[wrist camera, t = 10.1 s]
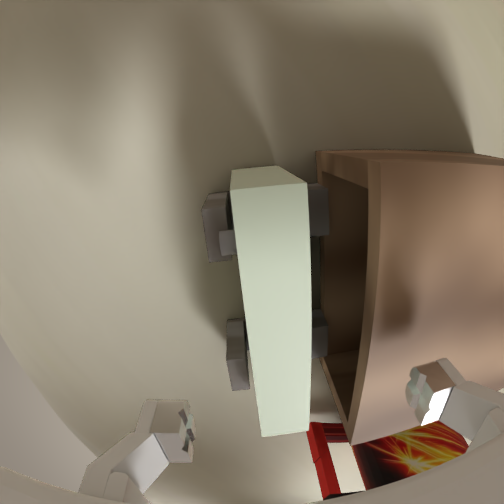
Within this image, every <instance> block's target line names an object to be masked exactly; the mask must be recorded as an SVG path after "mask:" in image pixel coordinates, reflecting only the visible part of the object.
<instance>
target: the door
mask: <svg viewBox="0 0 504 504" xmlns="http://www.w3.org/2000/svg"><path fill="white" fill-rule="evenodd" d="M230 196H231V205H232V213H233V222H234V230H226V231H219V242H220V250H221V255H222V256H225V255H234V254H237V255H238V263H239V271H240V279H241V287H242V295H243V303H244V311H245V319H246V326H247V334H248V341H249V349H250V356H251V364H252V371H253V379H254V386H255V393H256V400H257V407H258V414H259V421H260V428H261V435H262V437H267V436H276V435H283V434H291V433H297V432H304V431H309V417H310V392H311V341H312V308H311V256H310V229H309V208H308V190H307V182H305V181H303V180H302V179H300V178H298V177H296V176H295V175H293V174H291V173H290V172H288V171H286V170H284V169H283V168H281V167H279V166H265V167H255V168H245V169H236V170H232V173H231V183H230Z"/></svg>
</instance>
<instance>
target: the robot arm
mask: <svg viewBox="0 0 504 504" xmlns="http://www.w3.org/2000/svg"><path fill="white" fill-rule="evenodd" d="M409 376H410V378H411V380H410V381H409V382H408V383H407V385H406V389H405V394H406V400H407V402H408V404H409V406H410V407H412V408H414V409H415V413H414V415H415V416H416V418H417V420H418V422H419V423H420V425H421V426H422V425H425V424H428V423H431V422H434V421H437V420H439V421H440V422H442V423H444V424H445V425H447V426H448V427H450V428H452V429H453V430H455V431H456V432H458V433H460V434H461V435H463V436H464V437H466V438H468V439H469V440H471V441H472V442H471V444H470V445H469V447H468V448H467V450H466V453H465V454H463V455H461V456H458V457H456V458H454V459H452V460H450V461H448V462H445V463H443V464H441V465H439V466H436V467H434V468H431V469H429V470H426V471H424V472H421V473H419V474H416V475H413V476H411V477H408V478H405V479H402V480H399V481H396V482H393V483H390V484H387V485H384V486H380V487H377V488H373V489H370V490H366V491H363V492H359V493H355V494H351V495H346V496H342V497H337V498H333V499H328V500H323V501H317V502H311V503H305V504H504V394H503V393H501V392H498V391H495V390H493V389H490V388H488V387H485V386H482V385H480V384H477V383H475V382H472V381H470V380H469V381H466V380H465V379H464V378H463V376H462V375H461V374H460V373H459V372H458V370H457V369H456V368H455V367H454V366H453V364H452V363H451V362H450V361H449V360H448V359H447V358H442V359H439V360H436V361H432V362H429V363H426V364H423V365H419V366H416V367H413V368H412V369H411V371H410V374H409ZM189 411H190V406H189V403H188V401H187V400H151V399H146V400H145V402H144V403H143V406H142V410H141V413H140V416H139V419H138V422H137V426H136V429H135V432H130V433H129V434H128V435H126V436H125V437H124V438H123V439H121V440H120V441H119V442H118V443H116V444H115V445H114V446H113V447H111V448H110V449H109V450H108V451H106V452H105V453H104V454H102V455H101V456H100V457H99V458H97V459H96V460H95V461H93V462H92V463H91V464H89V465H88V466H87V469H86V472H85V474H84V477H83V480H82V483H81V486H80V488H79V492H74V491H70V490H67V489H63V488H60V487H57V486H54V485H51V484H48V483H44V482H42V481H38V480H36V479H33V478H31V477H28V476H25V475H23V474H20V473H18V472H15V471H13V470H11V469H8V468H6V467H1V466H0V504H151V503H150V502H149V501H148V500H147V499H146V497H145V496H144V495H143V493H144V492H145V491H146V490H147V489H148V488H149V487H150V485H151V484H152V483H153V482H154V481H155V480H156V479H157V477H158V476H159V475H160V474H161V473H162V472H163V471H164V469H165V468H166V467H167V466H168V465H169V462H170V463H192V460H193V452H194V447H193V445H192V441H193V440H194V439H195V434H196V430H195V421H194V417H193V415H192V414H190V413H189Z"/></svg>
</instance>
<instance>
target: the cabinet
mask: <svg viewBox="0 0 504 504" xmlns="http://www.w3.org/2000/svg"><path fill="white" fill-rule="evenodd" d="M316 164H317V180H318V183H314V184H307V190H308V208H309V229H310V237H313V236H320V281H321V295H320V309H315V310H312V341H311V359H313V358H319V359H320V361H321V364H322V367H323V370H324V373H325V375H326V378H327V381H328V384H329V386H330V389H331V392H332V395H333V398H334V400H335V403H336V406H337V409H338V412H339V415H340V418H341V420H342V423H343V426H344V429H345V432H346V435H347V438H348V441H349V444H350V446H352V445H356V444H360V443H364V442H368V441H372V440H375V439H379V438H382V437H386V436H389V435H392V434H395V433H399V432H402V431H405V430H408V429H411V428H414V427H416V426H419V425H420V423H419V422H418V420H417V418H416V416H415V415H414V413H415V409H414V408H412V407H410V406H409V404H408V402H407V400H406V394H405V389H406V385H407V383H408V382H409V381H410V380H411V378H410V376H409V374H410V371H411V369H412V368H413V367H416V366H419V365H423V364H426V363H429V362H432V361H436V360H439V359H442V358H447V359H448V360H449V361H450V362H451V363H452V364H453V366H454V367H455V368H456V369H457V370H458V372H459V373H460V374H461V375H462V376H463V378H464V379H465V380H466V381H469V380H470V381H472V382H475V383H477V384H480V385H482V386H485V387H488V388H490V389H493V390H495V391H498V390H500V389H502V388H504V159H503V158H497V157H492V156H487V155H481V154H474V153H462V152H446V151H426V150H332V151H316ZM201 210H202V217H203V224H204V231H205V237H206V244H207V251H208V257H209V262H218V261H227V260H232V255H225V256H222V255H221V250H220V242H219V231H226V230H234V222H233V213H232V205H231V196H230V191H228V192H219V193H211V194H209V195H208V197H207V199H206V201H205V203H204V205H203V207H202V209H201ZM247 350H250V349H249V341H248V334H247V326H246V319H245V318H242V319H232V320H227V353H226V361H227V366H228V371H229V376H230V381H231V386H232V391H235V390H246V389H250V385H249V371H248V356H247Z"/></svg>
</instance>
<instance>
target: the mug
mask: <svg viewBox="0 0 504 504" xmlns="http://www.w3.org/2000/svg"><path fill="white" fill-rule="evenodd" d="M306 433H307V437H308V441H309V445H310V450H311V454H312V458H313V463H315V466H316V471H317V475H318V479H319V484H320V488H321V492H322V497H323V500H328V499H333V498H337V497H342V496H346V495H351V494H355V493H359V492H363V491H359V492H350V493H341V491H340V487H339V484H338V480H337V476H336V473H335V469H334V465H333V462H332V458H331V455H330V451H329V448H328V444H327V443H342V442H349V441H348V438H347V435H346V432H345V429H344V426H343V423H320V422H310V423H309V431H306ZM351 447H352V450H353V453H354V456H355V459H356V462H357V465H358V468H359V471H360V474H361V477H362V480H363V483H364V486H365V489H366V490H370V489H373V488H377V487H380V486H384V485H387V484H390V483H393V482H396V481H399V480H402V479H405V478H408V477H411V476H413V475H416V474H419V473H421V472H424V471H426V470H429V469H431V468H434V467H436V466H439V465H441V464H443V463H445V462H448V461H450V460H452V459H454V458H456V457H458V456H461V455H463V454H465V453H466V450H467V448H468V447H469V446H468V444H467V442H466V441H465V439H464V438H463V436H462V435H461V434H460V433H458V432H456V431H455V430H453V429H452V428H450V427H448V426H447V425H445V424H444V423H442V422H440V421H439V420H437V421H434V422H431V423H428V424H425V425H422V426H421V425H419V426H416V427H414V428H411V429H408V430H405V431H402V432H399V433H395V434H392V435H389V436H386V437H382V438H379V439H375V440H372V441H368V442H364V443H360V444H356V445H352V446H351Z"/></svg>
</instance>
